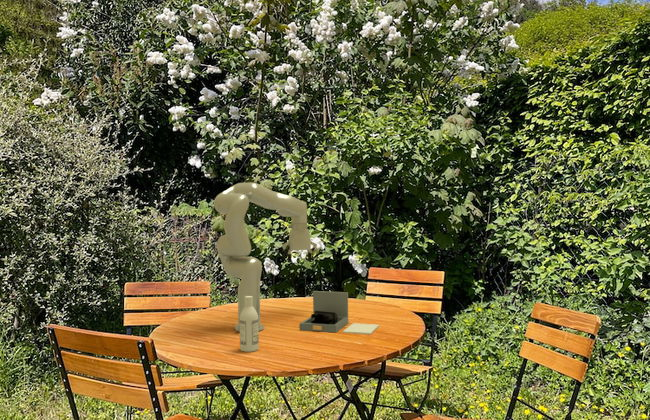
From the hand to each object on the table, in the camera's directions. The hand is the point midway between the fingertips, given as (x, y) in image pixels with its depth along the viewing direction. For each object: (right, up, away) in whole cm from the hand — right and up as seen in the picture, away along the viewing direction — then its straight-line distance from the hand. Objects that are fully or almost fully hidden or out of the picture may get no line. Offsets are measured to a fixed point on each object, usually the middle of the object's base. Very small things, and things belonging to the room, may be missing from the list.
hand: (299, 261), depth 265 cm
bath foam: (-16, -27, -61) cm, 69 cm away
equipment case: (+12, -26, -25) cm, 39 cm away
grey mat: (+28, -26, -31) cm, 49 cm away
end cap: (+12, -27, -25) cm, 39 cm away
